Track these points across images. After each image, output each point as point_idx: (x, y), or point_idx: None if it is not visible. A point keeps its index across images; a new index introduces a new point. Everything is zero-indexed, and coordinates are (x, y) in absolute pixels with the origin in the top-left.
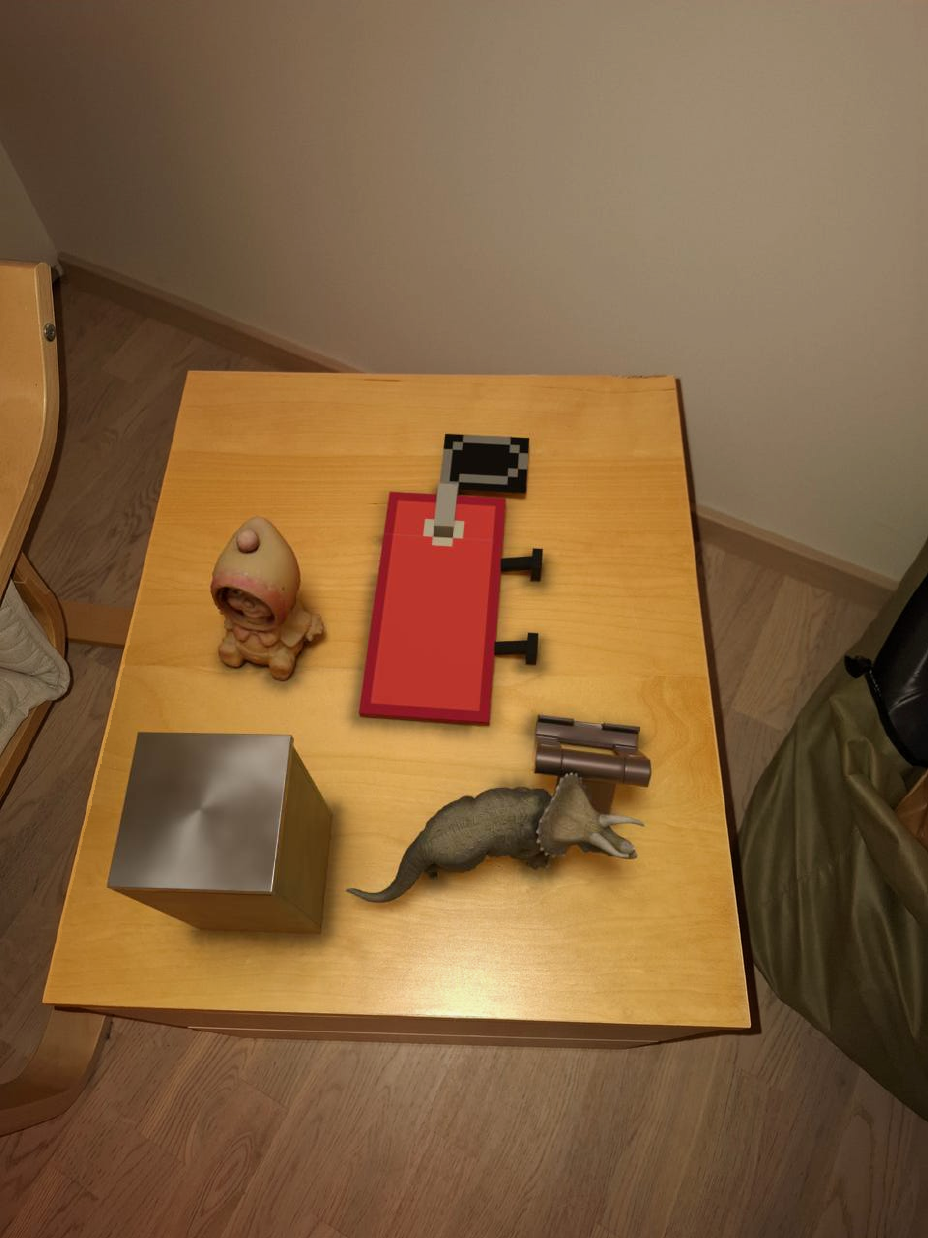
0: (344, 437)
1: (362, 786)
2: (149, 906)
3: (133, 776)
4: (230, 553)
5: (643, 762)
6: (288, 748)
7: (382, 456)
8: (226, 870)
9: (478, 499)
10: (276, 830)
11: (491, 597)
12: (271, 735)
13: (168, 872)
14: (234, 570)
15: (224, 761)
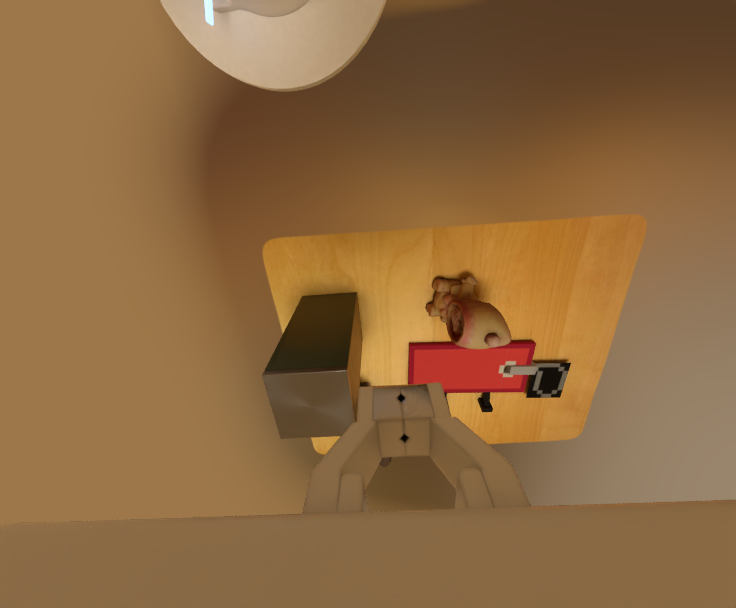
0: (580, 311)
1: (376, 347)
2: (281, 337)
3: (321, 373)
4: (485, 328)
5: (387, 464)
6: None
7: (562, 332)
8: (285, 421)
9: (525, 381)
10: (308, 436)
11: (469, 390)
12: None
13: (277, 399)
14: (473, 334)
15: (337, 411)
